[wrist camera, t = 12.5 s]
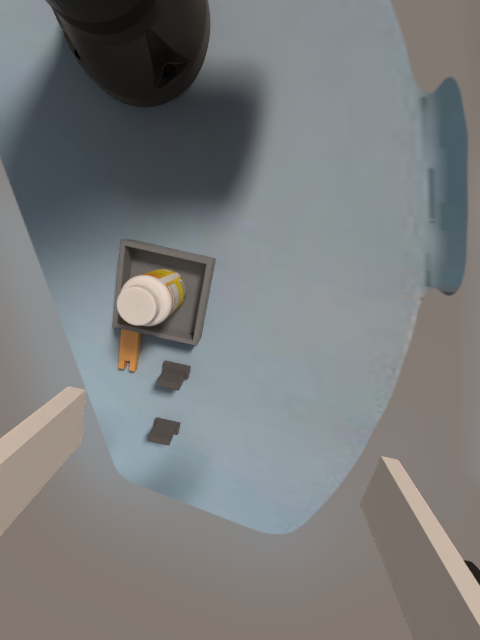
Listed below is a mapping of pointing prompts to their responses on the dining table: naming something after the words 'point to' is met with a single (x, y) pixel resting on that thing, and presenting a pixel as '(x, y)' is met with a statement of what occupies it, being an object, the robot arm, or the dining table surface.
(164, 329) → the parts tray
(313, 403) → the dining table surface
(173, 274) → the supplement bottle
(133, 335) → the fuse puller tool
